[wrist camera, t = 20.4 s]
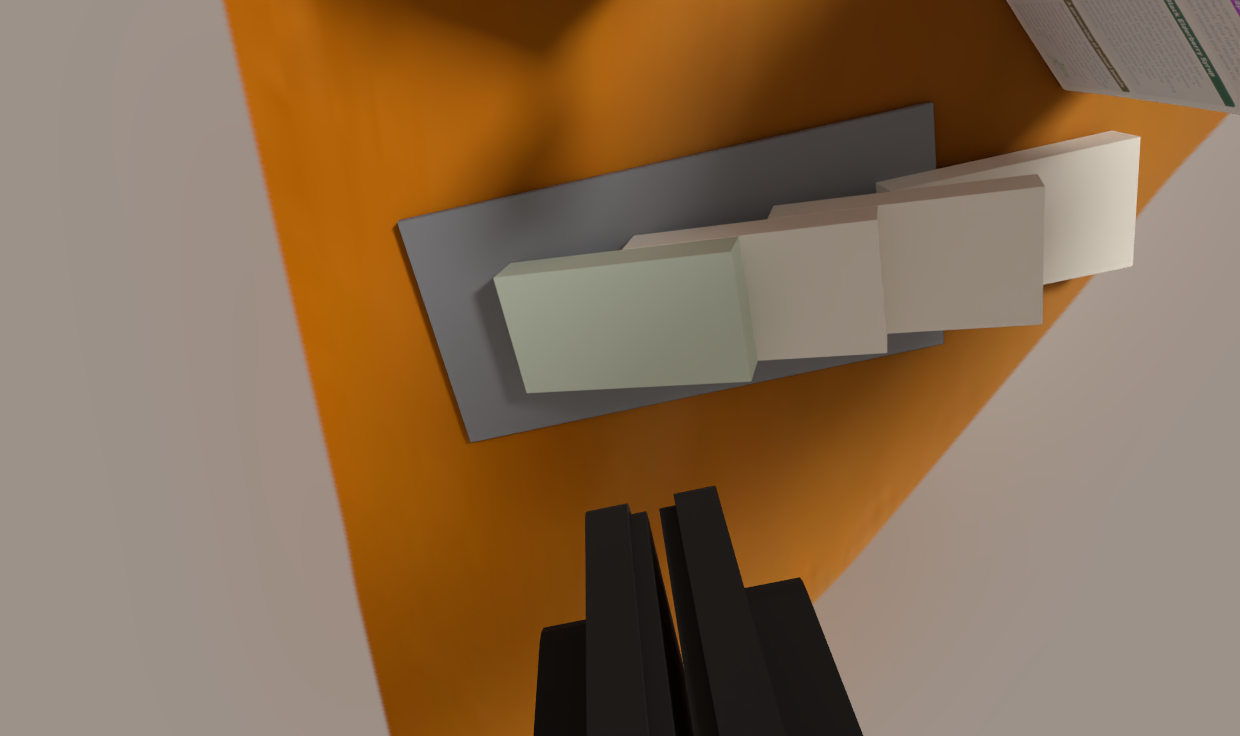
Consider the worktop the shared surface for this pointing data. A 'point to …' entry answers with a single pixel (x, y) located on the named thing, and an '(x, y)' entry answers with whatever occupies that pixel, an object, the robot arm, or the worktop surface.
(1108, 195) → the domino
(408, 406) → the worktop surface
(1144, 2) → the syrup box
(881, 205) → the domino
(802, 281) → the domino
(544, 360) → the domino
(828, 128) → the mat
